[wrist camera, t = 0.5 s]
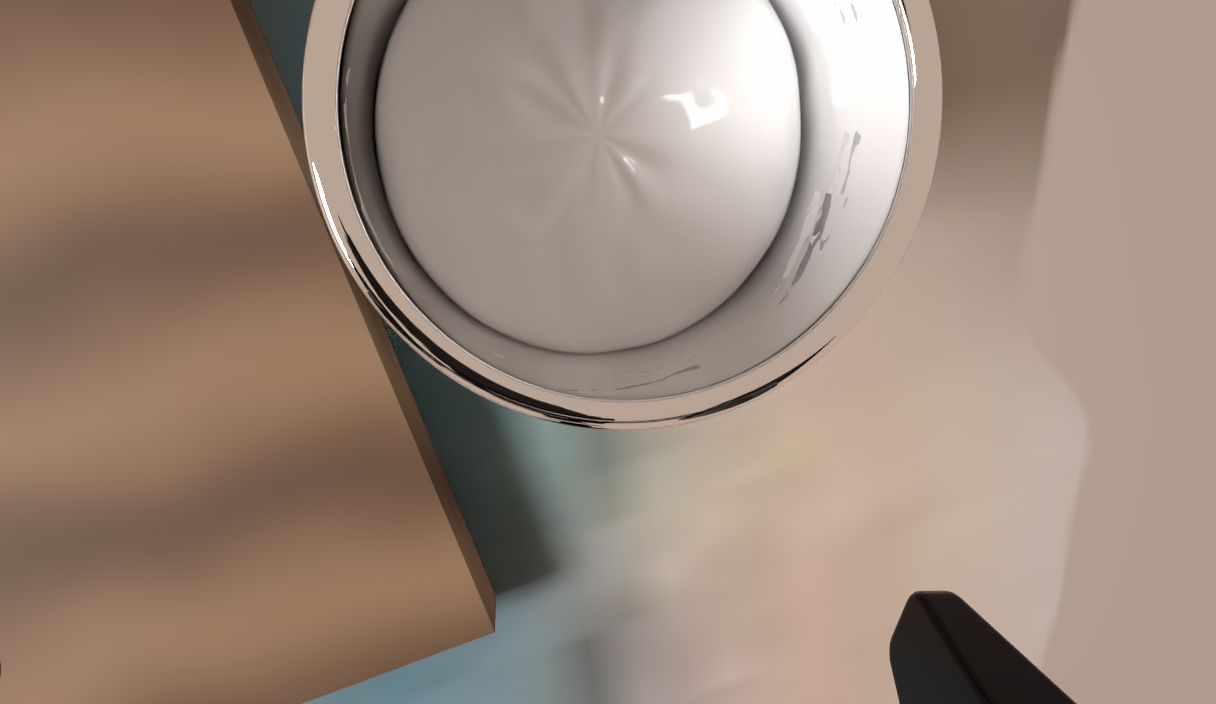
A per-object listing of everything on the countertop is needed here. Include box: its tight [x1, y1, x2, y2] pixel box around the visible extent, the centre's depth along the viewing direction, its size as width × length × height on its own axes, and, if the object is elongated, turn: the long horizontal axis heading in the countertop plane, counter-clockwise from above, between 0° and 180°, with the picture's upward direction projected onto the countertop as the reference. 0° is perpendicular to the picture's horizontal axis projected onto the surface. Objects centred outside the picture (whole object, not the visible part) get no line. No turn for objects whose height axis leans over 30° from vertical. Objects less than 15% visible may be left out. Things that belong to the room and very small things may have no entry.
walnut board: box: [0, 0, 496, 704], centre depth 22 cm, size 24×15×2 cm, turn 19°
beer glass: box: [302, 0, 943, 431], centre depth 16 cm, size 7×7×15 cm
